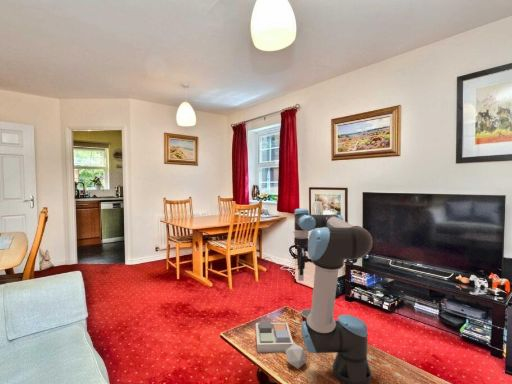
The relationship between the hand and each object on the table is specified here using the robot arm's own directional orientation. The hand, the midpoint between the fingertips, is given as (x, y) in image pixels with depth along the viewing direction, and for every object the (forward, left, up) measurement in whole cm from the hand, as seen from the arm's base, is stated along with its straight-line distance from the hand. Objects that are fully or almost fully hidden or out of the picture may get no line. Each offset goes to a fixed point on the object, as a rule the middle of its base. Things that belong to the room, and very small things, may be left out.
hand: (300, 280), depth 154 cm
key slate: (-16, +12, -23) cm, 31 cm away
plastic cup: (-8, -4, -27) cm, 28 cm away
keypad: (-12, +16, -26) cm, 33 cm away
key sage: (-16, +20, -25) cm, 36 cm away
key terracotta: (-7, +12, -25) cm, 28 cm away
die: (-31, +8, -27) cm, 42 cm away
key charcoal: (-8, +20, -23) cm, 31 cm away
